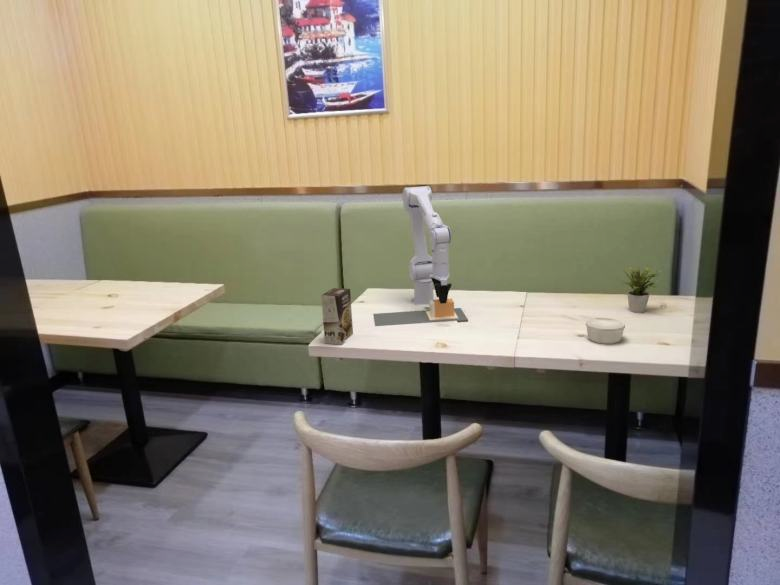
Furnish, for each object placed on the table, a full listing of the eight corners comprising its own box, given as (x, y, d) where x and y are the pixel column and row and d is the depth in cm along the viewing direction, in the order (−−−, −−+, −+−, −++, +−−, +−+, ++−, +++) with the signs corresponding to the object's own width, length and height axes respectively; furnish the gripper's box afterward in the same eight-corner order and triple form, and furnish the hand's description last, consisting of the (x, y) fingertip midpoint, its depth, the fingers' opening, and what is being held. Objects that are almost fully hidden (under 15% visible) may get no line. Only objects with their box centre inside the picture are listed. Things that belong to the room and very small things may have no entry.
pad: (425, 311, 211) (425, 311, 211) (453, 310, 211) (453, 309, 211) (429, 320, 201) (429, 319, 201) (458, 318, 202) (458, 318, 202)
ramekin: (621, 333, 182) (622, 317, 181) (626, 346, 172) (627, 329, 170) (583, 332, 185) (584, 316, 183) (586, 345, 174) (587, 328, 173)
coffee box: (342, 345, 184) (338, 296, 180) (324, 343, 186) (320, 294, 182) (354, 335, 192) (350, 288, 188) (336, 334, 194) (332, 287, 190)
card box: (452, 311, 209) (451, 298, 207) (454, 315, 204) (454, 302, 203) (429, 313, 208) (429, 300, 207) (431, 317, 204) (431, 303, 202)
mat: (373, 315, 212) (373, 313, 212) (460, 309, 214) (460, 307, 213) (375, 327, 198) (375, 326, 198) (468, 321, 200) (468, 319, 200)
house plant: (657, 320, 192) (661, 271, 188) (613, 315, 199) (616, 268, 195) (662, 308, 204) (666, 262, 200) (620, 303, 211) (623, 259, 206)
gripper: (426, 258, 208) (427, 294, 212) (431, 267, 194) (432, 306, 198) (445, 257, 208) (446, 293, 212) (452, 266, 194) (453, 305, 198)
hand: (441, 299), depth 205 cm, fingers open, 7 cm apart
